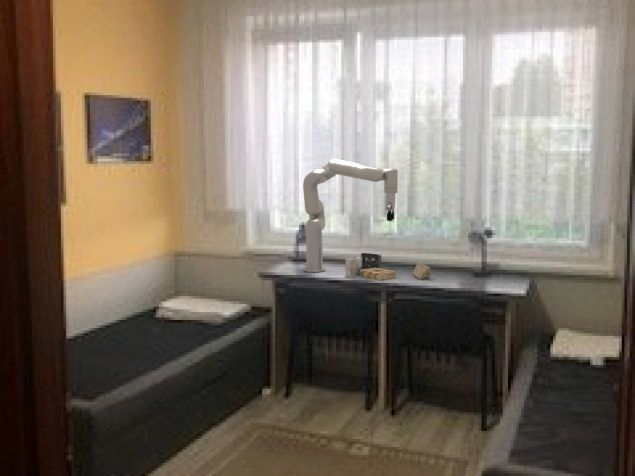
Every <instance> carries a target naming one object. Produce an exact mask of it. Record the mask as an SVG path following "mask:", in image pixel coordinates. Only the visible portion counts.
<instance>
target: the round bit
mask: <svg viewBox="0 0 635 476" xmlns="http://www.w3.org/2000/svg"><path fill="white" fill-rule="evenodd" d="M354 259H355V276H356V275H357V276H360V272H361V270H362V257H361V256H355V257H354Z"/></svg>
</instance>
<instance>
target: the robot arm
mask: <svg viewBox="0 0 635 476" xmlns="http://www.w3.org/2000/svg"><path fill="white" fill-rule="evenodd" d="M398 173H399V172H398V169H397V168H380V167H378V168H375V167H369V166H366V165H361V164H359V163H356V162H353V161H346V160H342V159H339V158H332V159H330V160H329V161H328V162H327V163H326V164H325V165H323V166H321V167H320V168H317V169H314V170H311V171H310V172H309V173H307V175H306V176H305V177H304V179H303V181H302V182H303V183H302V189H303V201H304V210H305V213H306V214H307V215H308V220H307V221H306V223H305V228H304V230H305V242H306V243H305V244H306V247H305V249H306V258H305V259H306V262H304V263H303V266H305V267H304V268H303V271H304V272H306V273H307V272H308V273H321V272H324V271H326V268H325V267H323V230H324V229H325V227H326V217H325V215H326V214H325V209H324V204H323V202H322V200H321V199H320V198H319V190H318V185H322V184H324V183H326V182H327V181H329V180H331V179H332V178H334V177H335V176H345V177H348V178H353V179H360V180H364V181H370V182H375V183H377V182H381V181H384V182H383V183H384V185H383V186H384V187H383V188H384V191H383V193H384V194H385V201H384V203H385V205H384V207H385V208H384V210H385V211H386V221H387V222H393V220H395V209H396V194H398V190H399V189H398V188H399V187H398V186H399V185H398V181H399V180H398V177H399V176H398Z"/></svg>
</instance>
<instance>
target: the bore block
mask: <svg viewBox="0 0 635 476" xmlns="http://www.w3.org/2000/svg"><path fill="white" fill-rule="evenodd" d="M359 276H360V277H364V278H369V279H374V280H376V279H378V281H384V280H390V279H395V278H396V271H394V270H389V269H385V268H370V269H364V270H361V272H360V275H359ZM389 278H390V279H389ZM383 279H384V280H383Z"/></svg>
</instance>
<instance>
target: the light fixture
mask: <svg viewBox="0 0 635 476" xmlns="http://www.w3.org/2000/svg"><path fill="white" fill-rule="evenodd" d="M360 257H362V270H364V269H370V268H380V269H382V254H381V253H380V252H370V253H369V252H368V253H367V252H361V254H360Z"/></svg>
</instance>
